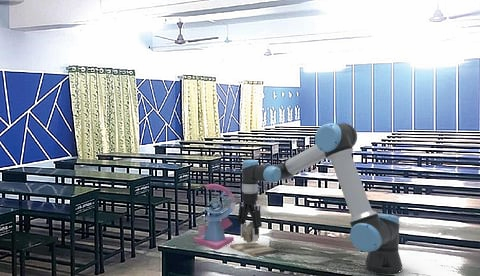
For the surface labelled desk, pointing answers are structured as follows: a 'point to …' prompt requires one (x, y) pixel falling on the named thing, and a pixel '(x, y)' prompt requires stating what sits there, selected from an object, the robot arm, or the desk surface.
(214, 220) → the trophy
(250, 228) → the rock
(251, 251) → the board
